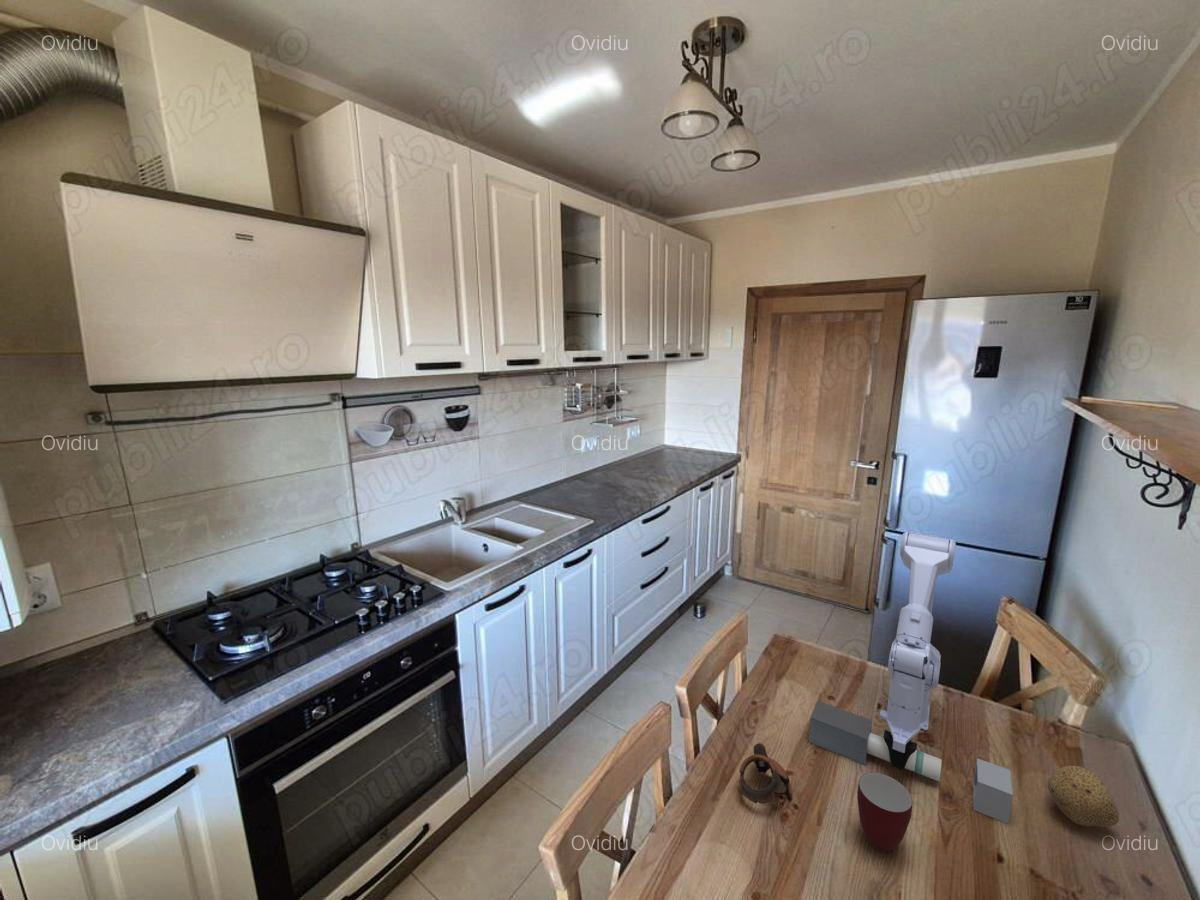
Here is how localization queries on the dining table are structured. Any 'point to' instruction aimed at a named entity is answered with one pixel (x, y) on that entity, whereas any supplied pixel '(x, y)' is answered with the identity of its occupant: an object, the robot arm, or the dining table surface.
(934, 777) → the tube
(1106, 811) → the natural sponge
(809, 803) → the dining table surface
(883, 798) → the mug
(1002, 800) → the socket
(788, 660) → the dining table surface
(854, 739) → the grey stone block
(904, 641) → the robot arm
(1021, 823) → the dining table surface
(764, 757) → the brown ring clamp
